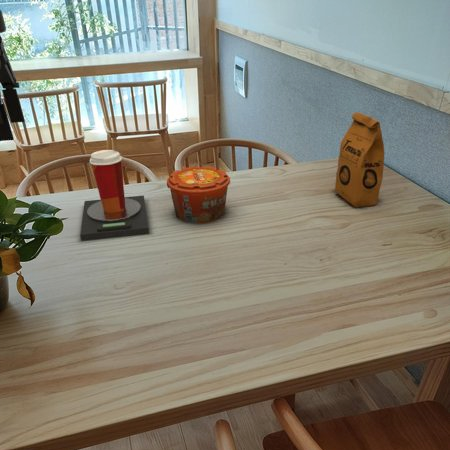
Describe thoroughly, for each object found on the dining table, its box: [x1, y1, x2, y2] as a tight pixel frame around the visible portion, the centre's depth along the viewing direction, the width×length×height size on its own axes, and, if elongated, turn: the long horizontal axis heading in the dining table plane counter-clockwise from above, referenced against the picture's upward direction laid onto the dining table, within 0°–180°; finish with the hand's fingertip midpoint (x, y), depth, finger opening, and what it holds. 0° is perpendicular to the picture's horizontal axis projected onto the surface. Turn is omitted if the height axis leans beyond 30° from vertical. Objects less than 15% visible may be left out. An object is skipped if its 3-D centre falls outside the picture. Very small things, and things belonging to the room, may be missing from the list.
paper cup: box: [89, 149, 126, 213], centre depth 111 cm, size 8×8×14 cm
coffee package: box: [334, 111, 385, 208], centre depth 119 cm, size 10×12×22 cm
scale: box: [79, 195, 150, 242], centre depth 115 cm, size 16×20×3 cm
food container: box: [166, 165, 231, 224], centre depth 115 cm, size 16×16×11 cm
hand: (12, 130), depth 92 cm, fingers open, 13 cm apart
